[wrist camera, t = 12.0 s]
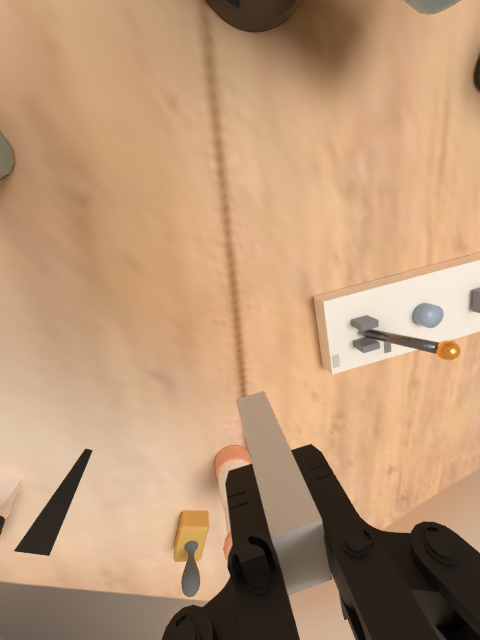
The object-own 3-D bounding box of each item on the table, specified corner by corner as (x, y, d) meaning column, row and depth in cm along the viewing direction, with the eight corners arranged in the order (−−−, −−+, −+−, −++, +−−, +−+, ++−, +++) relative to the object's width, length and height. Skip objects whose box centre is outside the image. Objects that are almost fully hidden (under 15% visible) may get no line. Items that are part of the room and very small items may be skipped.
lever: (357, 327, 45) (455, 347, 33) (366, 322, 46) (464, 339, 35) (358, 341, 46) (454, 365, 34) (367, 335, 47) (463, 357, 36)
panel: (313, 296, 47) (332, 306, 41) (491, 249, 50) (535, 251, 44) (322, 364, 52) (340, 383, 45) (485, 317, 55) (524, 328, 48)
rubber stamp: (200, 543, 61) (201, 612, 50) (174, 543, 60) (169, 614, 48) (208, 510, 58) (211, 575, 47) (182, 510, 57) (178, 577, 46)
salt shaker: (215, 446, 54) (225, 553, 36) (250, 443, 55) (277, 545, 37) (214, 475, 56) (224, 589, 38) (248, 471, 57) (273, 580, 39)
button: (413, 306, 46) (422, 309, 44) (433, 300, 47) (443, 303, 45) (413, 327, 48) (422, 330, 46) (433, 321, 48) (443, 324, 46)
